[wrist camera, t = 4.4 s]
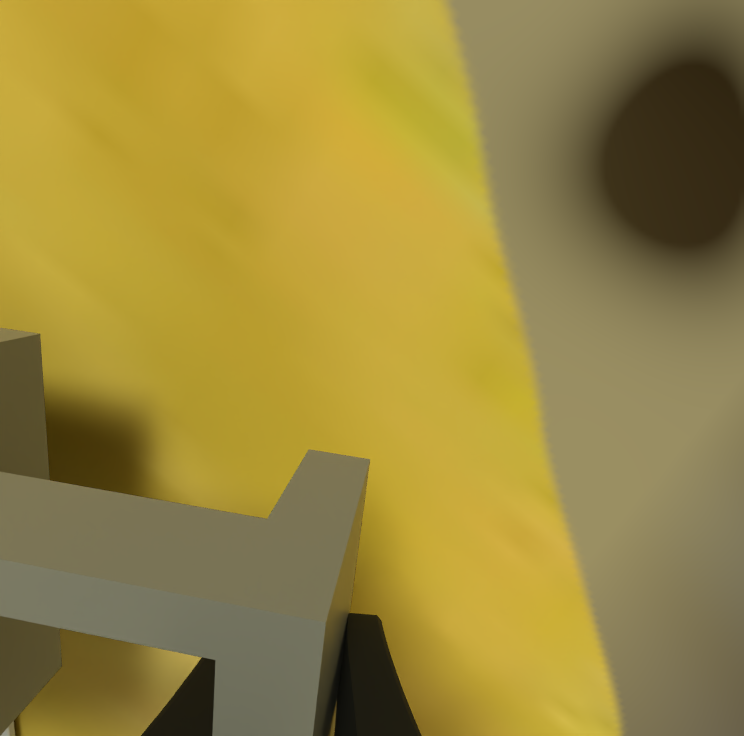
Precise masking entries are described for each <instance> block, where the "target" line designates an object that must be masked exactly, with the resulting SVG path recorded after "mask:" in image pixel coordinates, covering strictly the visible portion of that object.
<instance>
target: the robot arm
mask: <svg viewBox="0 0 744 736" xmlns="http://www.w3.org/2000/svg"><path fill="white" fill-rule="evenodd" d="M215 661H216V660H213V659H208V658H203V657H202V658H201V660H200V661H199V662H198V664H197V665H196V666H195V668H194V669H193V670H192V672H191V673H190V674H189V676H188V677H187V678H186V680H185V681H184V682H183V684H182V685H181V686H180V688H179V689H178V690H177V692H176V693H175V694H174V696H173V697H172V698H171V700H170V701H169V702H168V703H167V705H166V706H165V707H164V708H163V710H162V711H161V712H160V713H159V714H158V716H157V717H156V718H155V719H154V720H153V722H152V723H151V724H150V725H149V727H148V728H147V729H146V730H145V731H144V733H143V734H142V735H141V736H212V733H213V709H214V685H215ZM1 736H15V729H14V721H13V722H12V723H11V724H10V725H9V727H8V728H7V729H6V730H5V731H4V732H3V733H2V735H1ZM334 736H421V734H420V731H419V729H418V727H417V724H416V722H415V719H414V717H413V714H412V712H411V709H410V707H409V704H408V702H407V699H406V697H405V695H404V692H403V689H402V687H401V684H400V681H399V678H398V676H397V673H396V670H395V667H394V664H393V661H392V658H391V655H390V652H389V649H388V645H387V642H386V638H385V635H384V631H383V627H382V622H381V620H380V619H379V617H378V616H377V615H366V614H354V613H349V614H348V618H347V625H346V633H345V641H344V648H343V656H342V664H341V671H340V679H339V687H338V694H337V704H336V718H335V733H334Z"/></svg>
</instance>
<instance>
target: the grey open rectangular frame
mask: <svg viewBox="0 0 744 736" xmlns="http://www.w3.org/2000/svg"><path fill="white" fill-rule="evenodd" d="M369 464H370V459H364V458H358V457H352V456H346V455H340V454H334V453H328V452H321V451H315V450H308V452H307V453H306V455H305V457H304V458H303V460H302V462H301V463H300V465H299V467H298V469H297V470H296V472H295V474H294V475H293V477H292V479H291V480H290V482H289V484H288V485H287V487H286V489H285V490H284V492H283V494H282V495H281V497H280V499H279V500H278V502H277V504H276V505H275V507H274V509H273V510H272V512H271V514H270V515H269V517H268V519H264V518H259V517H253V516H247V515H242V514H236V513H230V512H225V511H219V510H213V509H208V508H202V507H197V506H191V505H185V504H180V503H174V502H168V501H163V500H157V499H152V498H146V497H140V496H135V495H129V494H123V493H118V492H112V491H106V490H101V489H95V488H90V487H84V486H78V485H73V484H67V483H61V482H56V481H50V477H49V462H48V447H47V432H46V416H45V401H44V386H43V371H42V356H41V341H40V334H38V333H31V332H25V331H18V330H11V329H5V328H0V736H1V735H2V733H3V732H4V731H5V730H6V729H7V728H8V727H9V725H10V724H11V723H12V722H13V721H14V720H15V719H16V718H17V716H18V715H19V714H20V713H21V712H22V711H23V710H24V708H25V707H26V706H27V705H28V704H29V703H30V702H31V701H32V699H33V698H34V697H35V696H36V695H37V694H38V693H39V692H40V690H41V689H42V688H43V687H44V686H45V685H46V684H47V682H48V681H49V680H50V679H51V678H52V677H53V676H54V675H55V673H56V672H57V671H58V670H59V669H60V668H61V667H62V658H61V643H60V628H62V629H66V630H71V631H76V632H81V633H86V634H91V635H96V636H101V637H105V638H110V639H115V640H120V641H125V642H130V643H135V644H140V645H145V646H149V647H154V648H159V649H164V650H169V651H174V652H179V653H184V654H188V655H193V656H198V657H203V658H208V659H213V660H216V661H215V685H214V709H213V733H212V736H334V729H335V718H336V704H337V694H338V687H339V679H340V671H341V664H342V656H343V648H344V641H345V633H346V625H347V618H348V614H349V613H350V608H351V600H352V593H353V585H354V578H355V570H356V562H357V555H358V547H359V540H360V532H361V524H362V517H363V509H364V502H365V494H366V486H367V479H368V471H369Z"/></svg>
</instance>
